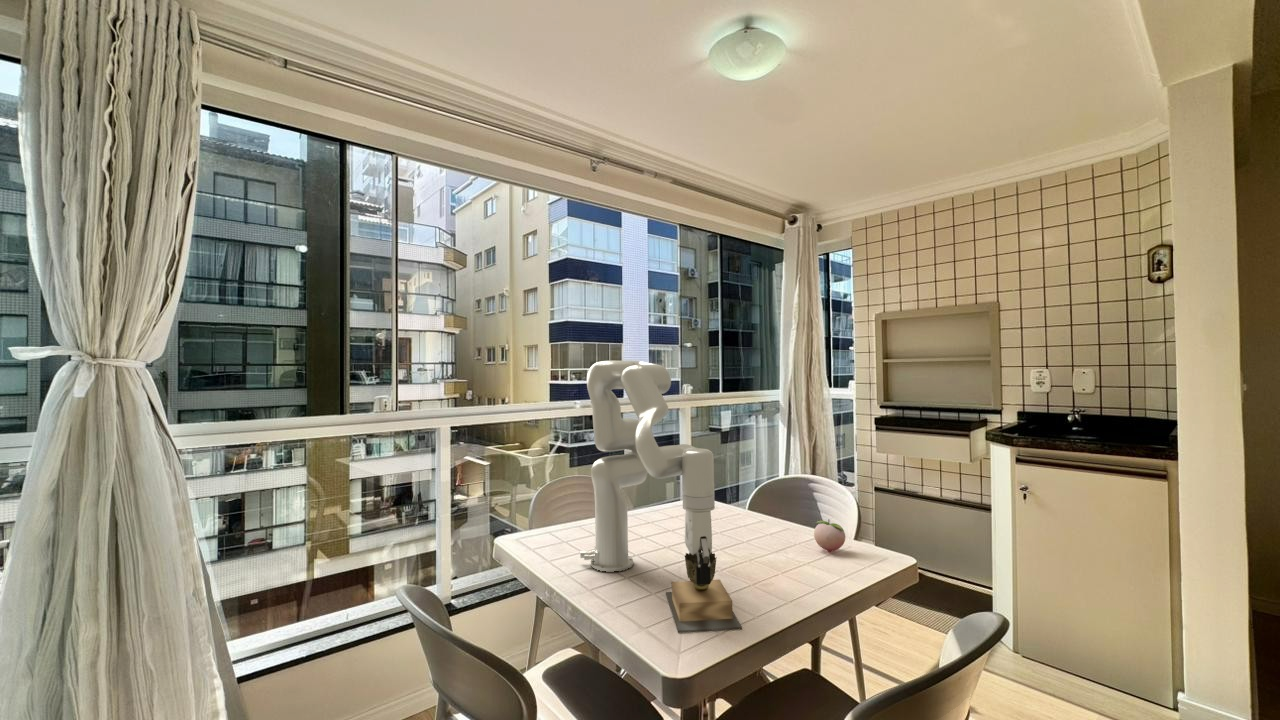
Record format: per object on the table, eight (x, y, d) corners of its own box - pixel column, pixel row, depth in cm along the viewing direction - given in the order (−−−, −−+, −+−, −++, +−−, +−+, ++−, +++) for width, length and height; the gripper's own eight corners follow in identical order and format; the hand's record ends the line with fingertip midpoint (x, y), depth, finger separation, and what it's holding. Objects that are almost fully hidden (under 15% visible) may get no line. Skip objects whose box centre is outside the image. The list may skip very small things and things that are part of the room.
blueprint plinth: (678, 632, 110) (677, 611, 110) (665, 593, 130) (665, 575, 130) (742, 629, 111) (741, 608, 111) (720, 591, 131) (719, 573, 131)
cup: (683, 582, 125) (682, 549, 125) (712, 580, 126) (712, 548, 125) (688, 597, 118) (687, 563, 117) (720, 595, 118) (719, 561, 118)
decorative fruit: (809, 552, 158) (808, 520, 159) (819, 545, 164) (818, 514, 165) (840, 559, 152) (839, 525, 152) (849, 552, 158) (848, 519, 159)
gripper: (677, 493, 130) (678, 564, 129) (689, 511, 113) (690, 593, 112) (706, 492, 130) (707, 562, 130) (723, 510, 113) (724, 591, 113)
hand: (699, 576), depth 121 cm, fingers open, 7 cm apart
